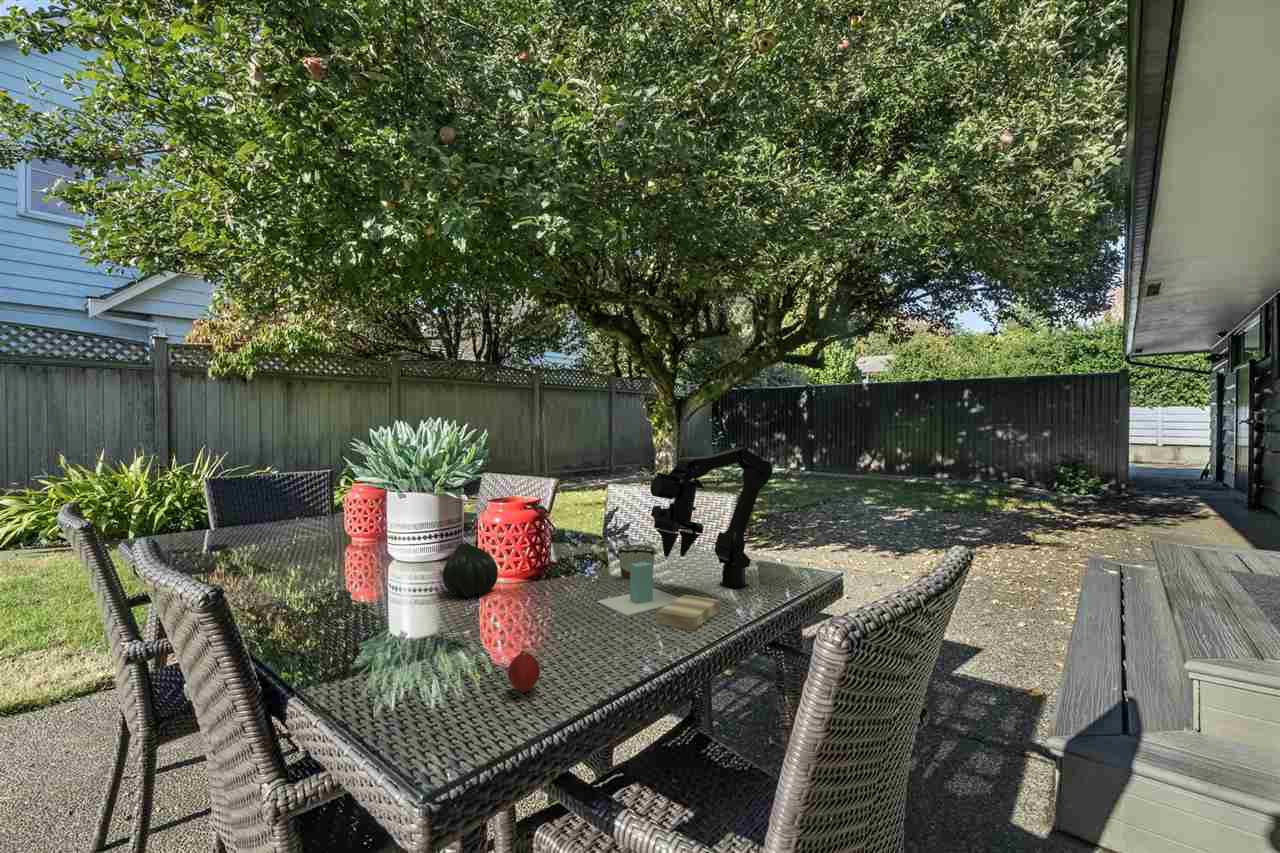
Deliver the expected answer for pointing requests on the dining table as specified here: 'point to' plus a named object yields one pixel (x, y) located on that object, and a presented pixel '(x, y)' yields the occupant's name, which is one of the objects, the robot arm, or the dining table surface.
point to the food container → (634, 557)
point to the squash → (469, 571)
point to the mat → (631, 608)
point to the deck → (688, 612)
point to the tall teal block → (641, 582)
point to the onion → (523, 671)
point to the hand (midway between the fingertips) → (674, 556)
